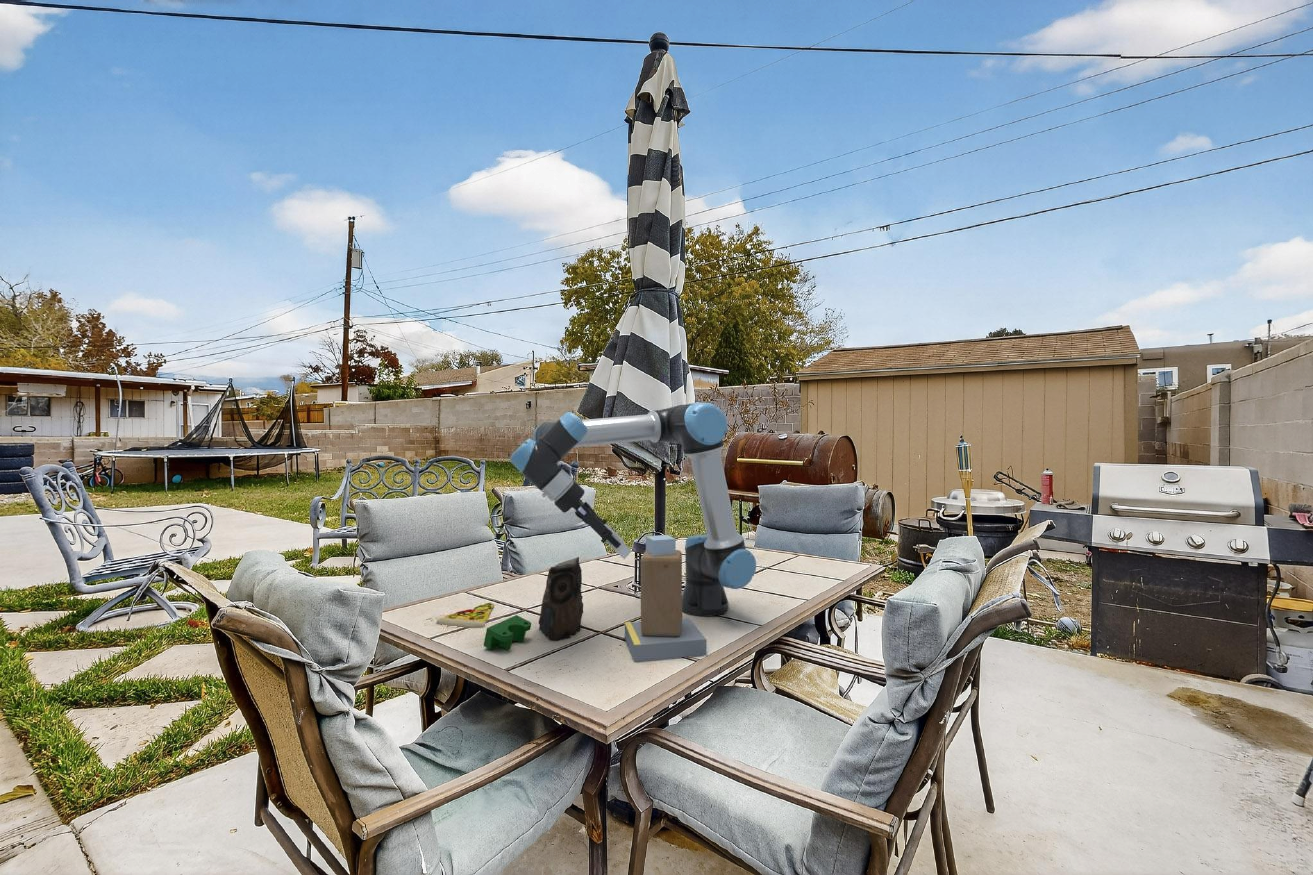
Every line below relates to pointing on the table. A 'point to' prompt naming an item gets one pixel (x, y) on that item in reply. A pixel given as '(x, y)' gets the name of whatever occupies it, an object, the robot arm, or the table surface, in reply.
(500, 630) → the clamp
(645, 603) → the wooden block
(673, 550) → the box
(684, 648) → the dock
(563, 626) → the owl
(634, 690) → the table surface
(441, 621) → the pizza slice
